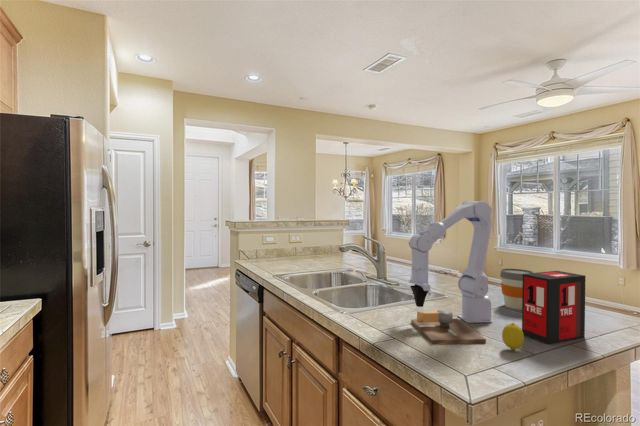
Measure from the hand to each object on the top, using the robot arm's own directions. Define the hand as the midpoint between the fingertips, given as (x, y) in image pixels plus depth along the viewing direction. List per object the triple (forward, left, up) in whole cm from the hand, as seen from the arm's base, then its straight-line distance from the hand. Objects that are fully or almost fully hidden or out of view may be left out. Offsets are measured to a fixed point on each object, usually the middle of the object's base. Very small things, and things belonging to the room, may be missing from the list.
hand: (419, 306), depth 120 cm
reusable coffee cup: (-49, -19, -7) cm, 53 cm away
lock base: (-6, +8, -6) cm, 12 cm away
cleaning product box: (-40, +13, -7) cm, 42 cm away
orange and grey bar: (-3, +6, -3) cm, 8 cm away
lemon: (-20, +23, -7) cm, 31 cm away
